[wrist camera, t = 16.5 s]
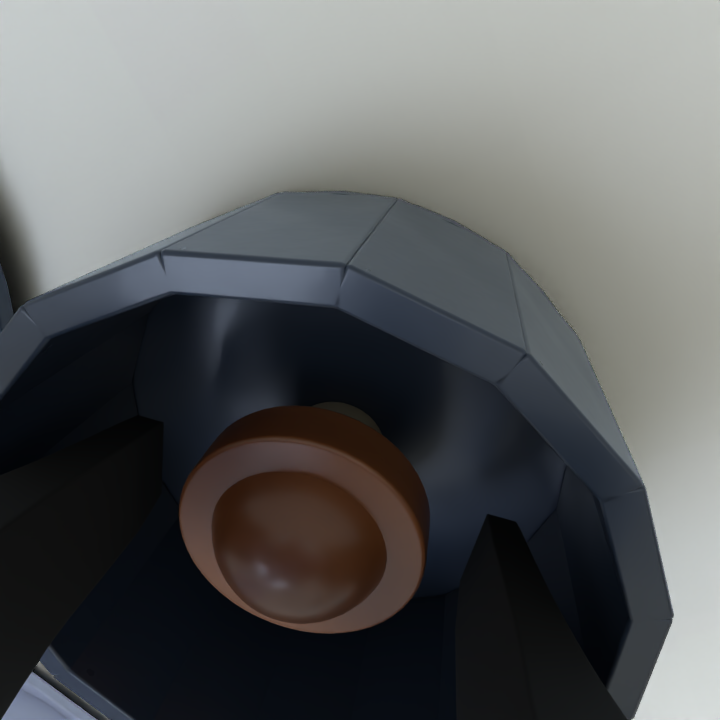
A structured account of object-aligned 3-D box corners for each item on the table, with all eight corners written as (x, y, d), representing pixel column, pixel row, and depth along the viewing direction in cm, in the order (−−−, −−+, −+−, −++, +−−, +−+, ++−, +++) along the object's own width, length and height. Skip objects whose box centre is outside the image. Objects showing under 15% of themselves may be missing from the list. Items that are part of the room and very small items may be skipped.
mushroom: (337, 546, 15) (285, 719, 11) (207, 425, 14) (94, 564, 10) (480, 459, 13) (483, 632, 9) (338, 311, 12) (266, 425, 8)
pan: (340, 653, 18) (291, 855, 13) (46, 397, 15) (-146, 530, 11) (700, 478, 13) (838, 707, 8) (344, 53, 10) (230, 12, 5)
